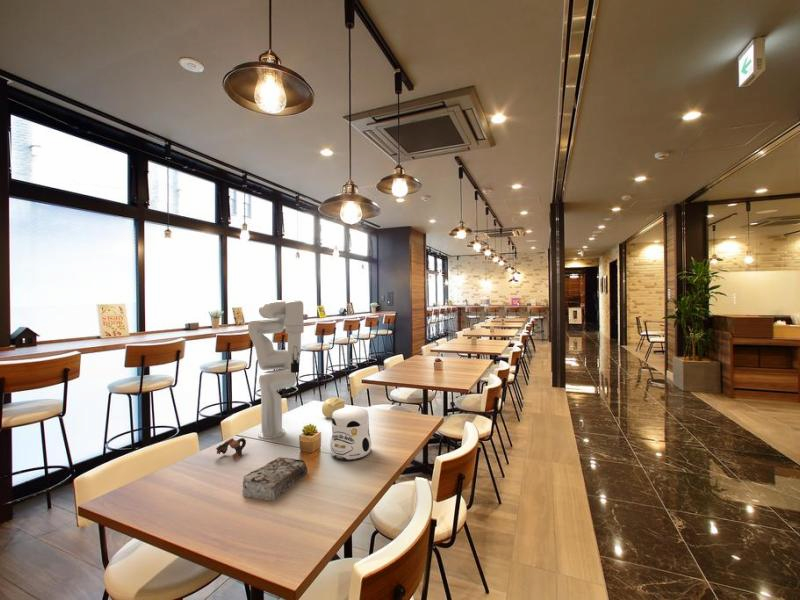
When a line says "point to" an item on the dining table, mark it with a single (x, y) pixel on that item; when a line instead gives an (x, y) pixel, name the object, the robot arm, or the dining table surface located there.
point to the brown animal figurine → (233, 444)
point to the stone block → (273, 478)
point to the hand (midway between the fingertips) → (294, 372)
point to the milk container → (350, 434)
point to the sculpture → (332, 406)
